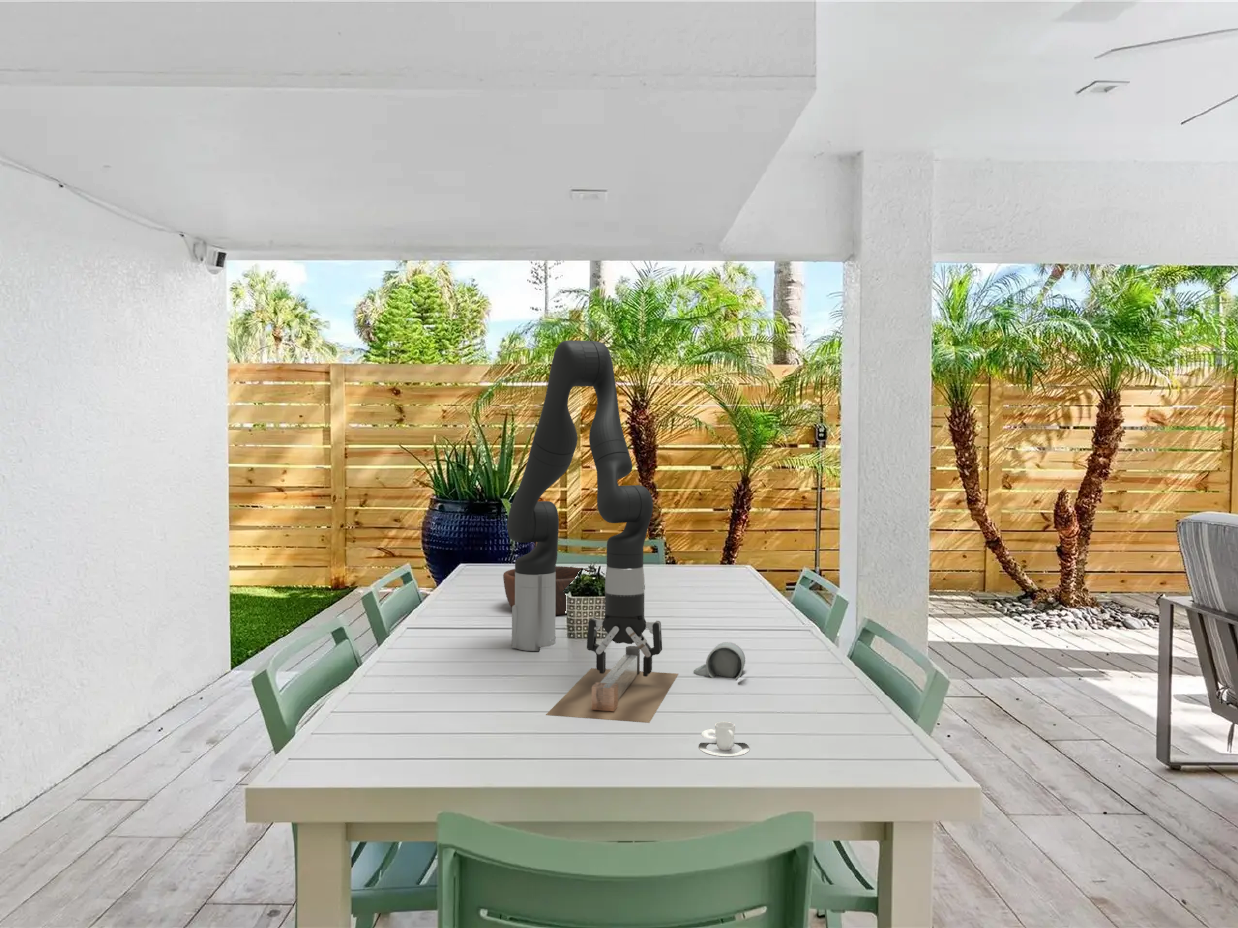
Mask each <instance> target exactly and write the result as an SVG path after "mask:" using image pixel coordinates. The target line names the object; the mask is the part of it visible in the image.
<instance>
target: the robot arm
mask: <svg viewBox="0 0 1238 928" xmlns="http://www.w3.org/2000/svg"><path fill="white" fill-rule="evenodd" d="M611 356H612V355H611V354H610V351H609V349H608V347H607V346H606V345H605V344H604V343H603V342H602V341H595V340H572V339H571V340H563V341H561V342H560V343H559V344H558V345H557V347H556V349H555V350H554V354H553V357H552V361H551V364H550V370H549V376H548V382H547V387H546V393H545V396H544V402H543V406H542V409H541V412H540V416H539V419H538V423H537V427H536V428H535V432H534V436H533V439H532V443H531V447H530V450H529V454H528V458H527V461H526V465H525V469H524V472H523V475H522V478H521V481H520V483H519V486H518V488H517V490H516V493H515V495H514V498H513V501H512V503H511V505H510V508H509V511H508V516H507V522H506V523H507V524H506V530H507V534H508V537H509V538H510V539H511V540H512V541H514V542H516V543H527V544H528V543H536V545H535V547H534V548H533V549H532V550H531V551H529V552H527V553H526V554H524V555H522V556H519V557H518V558H517V559H515V563H514V569H515V605H514V606H512V608H511V648H512V649H518V650H520V651H527V652H529V651H531V652H538V651H539V652H540V651H541V648H546V647H551V646H554V645H555V644H556V615H555V609H556V585H555V584H556V572H555V571H556V566H557V560H558V550H559V549H558V547H559V546H558V545H559V532H560V531H559V528H560V522H559V521H560V520H559V519H560V516H559V512H558V508H557V506H556V504H555V503H554V502H553V501H550V500H549V501H548V500H544V501H543V500H541V501H540V500H539V499H540V498H541V496H542V495H543V494H544V493H545V492H546V491H547V490H548V489H549V488H550V487H551V486H552V485H553V484H555V483H556V482H557V481H558V480H559V479H560V478H561V477H562V476H563V475H564V474H566V472H567V470H568V469H569V467H570V466H571V464H572V461H573V457H574V454H575V452H576V449H577V446H578V440H579V439H578V432H577V429H576V426H575V424H574V423H575V422H574V420H573V418H572V416H571V413H570V411H569V406H568V404H569V396H570V394H571V391H572V388H573V387H592V388H593V389H594V392H595V394H596V402H597V403H596V411H595V413H594V416H593V419H592V422H591V426H590V428H589V429H590V430H589V432H588V433H589V437H588V439H589V440H588V441H589V448H590V452H591V455H592V459H593V462H594V466H595V469H596V486H597V487H596V489H597V490H596V491H597V492H596V493H597V495H596V505H597V506H596V507H597V511H598V513H599V515H600V516H601V518H602V519H603V520H604V521H605V522H607V523H609V524H620V523H621V524H623V523H626V524H625V526H624V528H623V531H622V532H619V533H617V534H614V535H612V536H610V537H609V538H608V539H607V542H606V568H605V569H606V571H605V579H604V580H605V581H604V582H605V583H604V584H605V585H604V591H605V592H604V619H598V618H597V617H592V618H591V619H590V620H588V623H587V626H588V627H587V637H586V640H587V641H586V649H587V650H588V651H591V652H593V653H595V656H596V657H595V658H596V661H595V663H596V669H597V670H599V672H600V673H601V674H604V672H605V670H606V669H607V668H606V667H607V666H606V664H607V662H606V658H607V657H606V652H605V650H606V649H607V648H608V646H609V645H610V644H611V642H614V643H615V644H627V645H632V644H634V643H635V646H637V647H638V648H640V651H641V653H642V654H643V655H644V656H643V659H642V660H643V661H642V662H643V663H642V665H643V668H642V670H643V676H645V677H647V676H648V675H649V674H650V673H651V672H653V657H654V656H655V655H656V656H657V655H660V654H661V652H662V650H663V640H662V639H663V637H662V636H663V635H662V622H661V621H660V620H656V621H650V622H649V621H648V622H647V621H646V617H645V590H646V583H645V572H644V547H645V545H644V544H645V542H646V538H647V534H648V529H649V526H650V522H651V519H652V514H653V511H654V510H653V508H654V503H653V497H652V495H651V492H650V491H649V490H648V488H646V487H645V486H643V485H639V484H638V485H619V483H618V480H620V479H623V478H625V477H627V476H628V475H630V473H631V472H632V469H633V462H632V459H631V455H630V450H629V448H628V445H627V442H626V439H625V435H624V430H623V427H622V422H621V416H620V409H619V408H620V407H619V401H618V392H617V391H618V390H617V386H616V385H617V384H616V380H615V379H616V378H615V377H616V376H615V372H614V371H615V370H614V366H613V360H612V357H611ZM601 627H602V628H603V629H604V630H605V632H606V633H607V635H606V637H605V638H604V639H603V640H602V641H601V643H600V644H598V643H597V636H598V635H597V632H598V631H600V629H601ZM646 629H648V632H649V633H650V634H651V635H652V641H653V643H652V644H653V645H652V646H653V647H651V645H650V644H649V643H648V641H647V638H646V637H645V636H644V632H645V630H646Z"/></svg>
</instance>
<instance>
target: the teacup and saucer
mask: <svg viewBox="0 0 1238 928" xmlns="http://www.w3.org/2000/svg"><path fill="white" fill-rule="evenodd" d="M735 732H736V724H735V723H733V722H729V721H718V722H715V723H714V729H711V728H709V729H705V730H703V731H702V732H701V735H700V736H701V737H702V738H704V739H709V740H710V739H711V740H713V739H715V742H700V743H699V744H698V749H699V750H700V751H701V752H703V753H705V754H707V755H711V756H715V757H716V756H717V757H725V758H726V757H730V758H731V757H739V756H742V755H745V754H747V753H749V751H750V750H751V748H750V746H749V744H747V743H746V742H734V741H735V735H736V734H735ZM712 735H715V736H712ZM734 744H735V745H737V746H739V747H740V748H741V750H740V751H738V752H735V753H717V752H714V751H710V750H709V749H708V748H707V747H708V745H716V746H717V749H719V750H722V751H729V750H732V748H733V746H734Z"/></svg>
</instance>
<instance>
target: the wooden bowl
mask: <svg viewBox="0 0 1238 928" xmlns="http://www.w3.org/2000/svg"><path fill="white" fill-rule="evenodd" d="M581 569H584V570H585V571H587V572H589V570H590V569H587V568H581V567H573V566H561V565H559V566H557V565H556V571H555V572H556V584H555V585H556V609H555V616H562V615H563V616H564V615H566V614H565V611H566V595H565V593H564V592H563V590H564V589H565V588H566V587H567V586H568V585H569V584H570V583H571V582H572V581H573V580H574V579H575V577H576V576H577V574H578V572H579V571H580V570H581ZM502 578H503V585H504V592H505V596H506V600H507V602H508V604H509V606H510V608H511V609H512V606H514V605H515V568H512V569H509V570H506V571H505V572H503V575H502Z"/></svg>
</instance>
